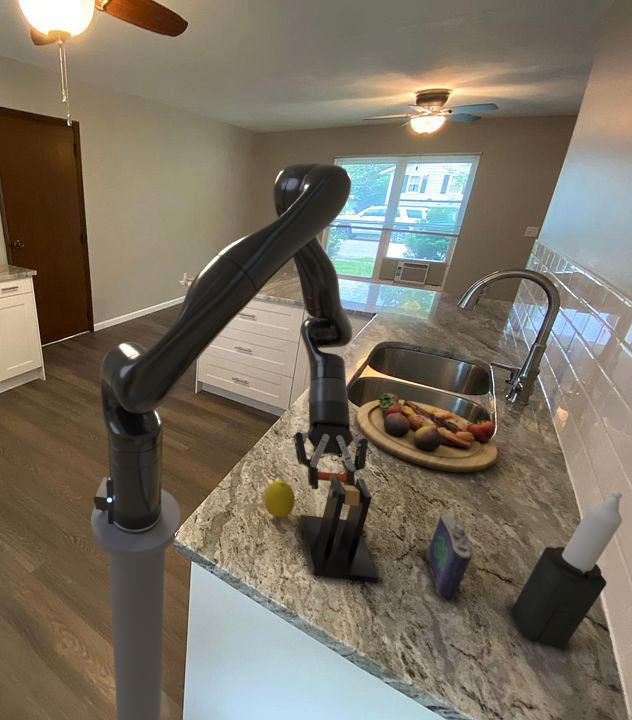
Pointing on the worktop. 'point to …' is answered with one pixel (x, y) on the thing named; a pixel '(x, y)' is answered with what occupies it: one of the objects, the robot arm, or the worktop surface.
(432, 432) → the wooden plate
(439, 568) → the flask
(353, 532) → the black lever stand
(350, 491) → the valve lever
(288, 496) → the lemon
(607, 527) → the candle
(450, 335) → the worktop surface
